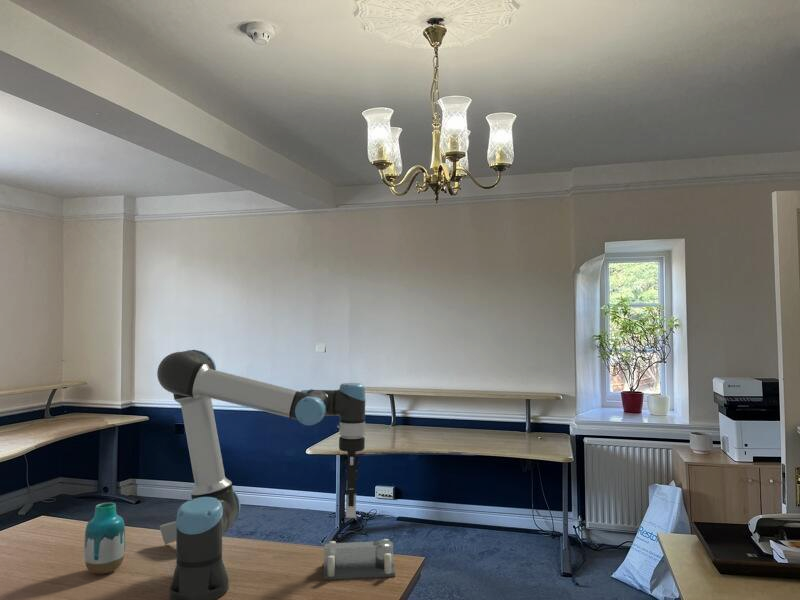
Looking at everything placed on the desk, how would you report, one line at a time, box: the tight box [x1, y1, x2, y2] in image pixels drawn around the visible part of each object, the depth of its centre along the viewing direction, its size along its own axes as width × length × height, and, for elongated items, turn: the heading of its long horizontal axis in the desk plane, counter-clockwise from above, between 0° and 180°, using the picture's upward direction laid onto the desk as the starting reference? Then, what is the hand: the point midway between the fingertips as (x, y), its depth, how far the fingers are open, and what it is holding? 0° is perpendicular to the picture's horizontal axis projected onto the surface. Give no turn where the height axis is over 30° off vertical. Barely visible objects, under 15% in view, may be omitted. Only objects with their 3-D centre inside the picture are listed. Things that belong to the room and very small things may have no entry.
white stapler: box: [159, 520, 176, 545], centre depth 187 cm, size 4×10×15 cm
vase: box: [83, 501, 126, 575], centre depth 170 cm, size 11×11×19 cm
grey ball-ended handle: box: [323, 539, 394, 571], centre depth 170 cm, size 20×6×6 cm, turn 95°
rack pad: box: [323, 538, 396, 581], centre depth 170 cm, size 20×13×6 cm, turn 95°
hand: (350, 509), depth 170 cm, fingers open, 13 cm apart
